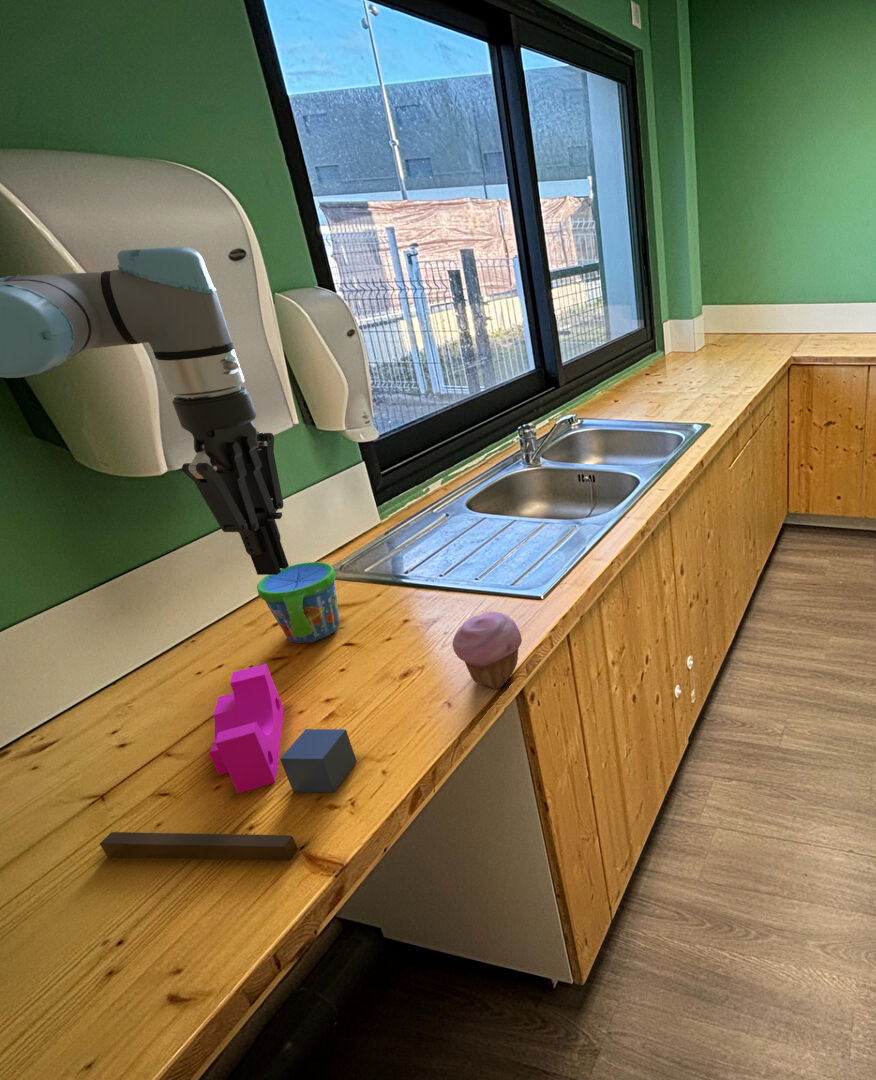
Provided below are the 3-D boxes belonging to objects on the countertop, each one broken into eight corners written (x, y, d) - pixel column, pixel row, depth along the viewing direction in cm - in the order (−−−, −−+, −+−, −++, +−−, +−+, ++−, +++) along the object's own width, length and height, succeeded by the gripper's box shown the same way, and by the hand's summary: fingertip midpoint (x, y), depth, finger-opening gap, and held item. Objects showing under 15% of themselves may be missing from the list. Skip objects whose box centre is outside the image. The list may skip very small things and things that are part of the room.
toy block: (230, 724, 92) (210, 677, 89) (284, 709, 94) (266, 663, 91) (212, 801, 80) (188, 750, 76) (275, 782, 82) (254, 732, 79)
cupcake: (450, 688, 97) (434, 627, 93) (493, 654, 104) (481, 596, 100) (499, 704, 93) (485, 642, 89) (540, 668, 100) (530, 609, 96)
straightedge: (107, 857, 73) (99, 843, 72) (119, 845, 74) (111, 831, 74) (289, 860, 72) (283, 846, 71) (298, 848, 73) (292, 834, 72)
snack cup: (289, 614, 117) (270, 560, 113) (357, 602, 120) (341, 549, 116) (265, 666, 104) (242, 607, 99) (342, 651, 106) (323, 593, 102)
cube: (292, 791, 81) (279, 758, 78) (317, 760, 85) (305, 728, 83) (334, 792, 80) (322, 759, 78) (357, 761, 85) (346, 729, 83)
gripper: (196, 406, 74) (266, 597, 85) (278, 376, 87) (330, 546, 97) (129, 407, 75) (207, 597, 85) (220, 378, 88) (279, 547, 98)
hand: (273, 570), depth 91 cm, fingers closed
